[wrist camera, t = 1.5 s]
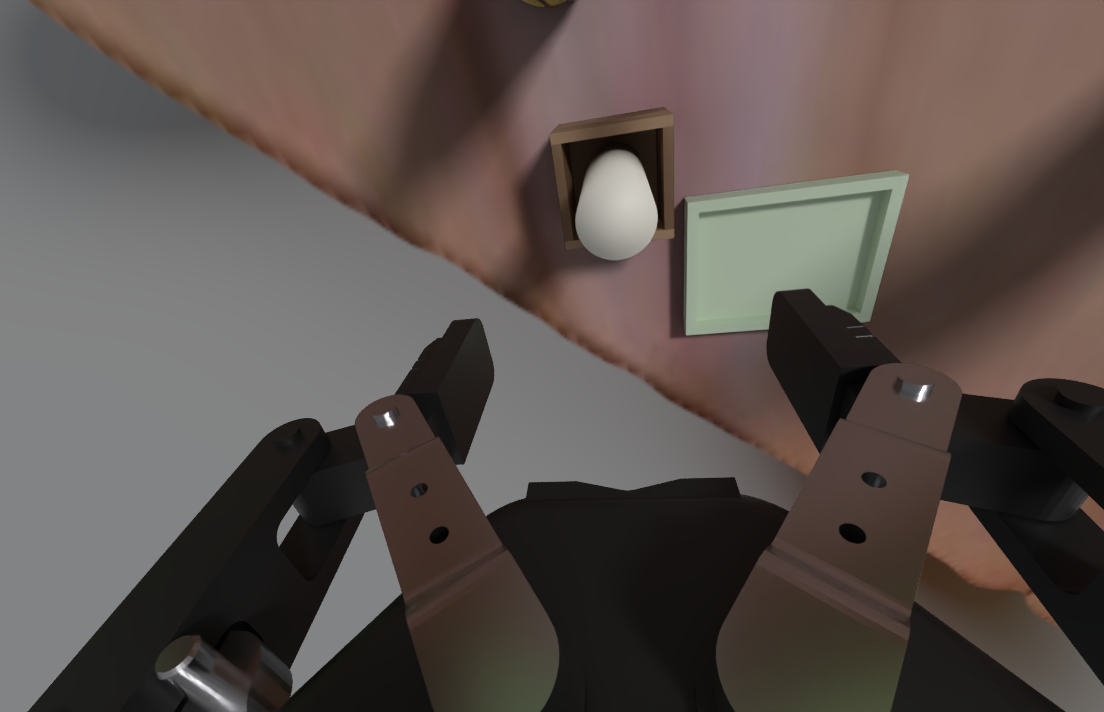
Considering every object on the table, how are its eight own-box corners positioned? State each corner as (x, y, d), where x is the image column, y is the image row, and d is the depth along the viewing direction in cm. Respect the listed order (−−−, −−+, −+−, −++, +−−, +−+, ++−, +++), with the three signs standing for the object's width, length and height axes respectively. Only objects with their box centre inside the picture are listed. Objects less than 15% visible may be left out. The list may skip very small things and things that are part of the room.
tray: (895, 170, 30) (909, 174, 28) (860, 312, 35) (869, 321, 34) (684, 197, 32) (687, 202, 31) (683, 326, 38) (686, 335, 37)
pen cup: (663, 107, 29) (673, 114, 25) (665, 214, 33) (674, 238, 28) (558, 124, 30) (549, 134, 26) (571, 226, 34) (565, 250, 30)
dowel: (641, 138, 30) (656, 172, 20) (643, 197, 32) (658, 255, 22) (583, 147, 30) (570, 184, 20) (589, 205, 33) (580, 264, 23)
